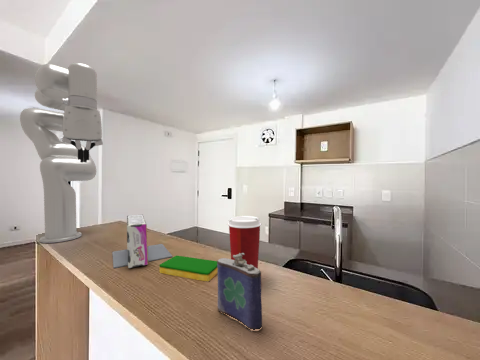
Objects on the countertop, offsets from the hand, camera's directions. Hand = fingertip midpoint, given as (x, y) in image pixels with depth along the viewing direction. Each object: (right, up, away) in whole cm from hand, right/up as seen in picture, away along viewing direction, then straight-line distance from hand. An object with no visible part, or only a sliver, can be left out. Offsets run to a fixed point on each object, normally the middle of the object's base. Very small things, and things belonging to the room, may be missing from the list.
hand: (83, 162), depth 72 cm
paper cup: (+52, -29, -22) cm, 63 cm away
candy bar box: (+17, -22, 0) cm, 28 cm away
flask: (+51, -29, -35) cm, 68 cm away
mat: (+21, -29, -5) cm, 36 cm away
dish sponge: (+39, -29, -17) cm, 51 cm away
